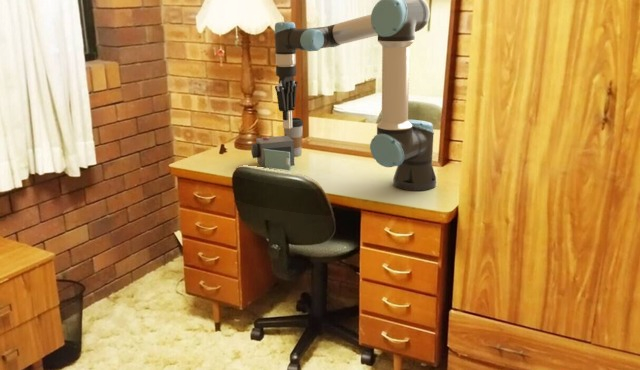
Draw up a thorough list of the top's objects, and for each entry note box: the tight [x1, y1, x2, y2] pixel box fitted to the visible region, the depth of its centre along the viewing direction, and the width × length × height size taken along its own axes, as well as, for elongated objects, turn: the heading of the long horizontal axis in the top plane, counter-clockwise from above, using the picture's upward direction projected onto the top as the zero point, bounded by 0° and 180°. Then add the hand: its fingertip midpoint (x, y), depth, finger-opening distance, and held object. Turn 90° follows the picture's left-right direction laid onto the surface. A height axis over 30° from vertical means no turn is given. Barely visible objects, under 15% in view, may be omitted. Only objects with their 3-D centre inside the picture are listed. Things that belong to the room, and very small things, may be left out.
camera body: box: [250, 135, 295, 169], centre depth 248 cm, size 9×16×11 cm, turn 108°
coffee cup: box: [283, 117, 304, 158], centre depth 261 cm, size 8×8×15 cm
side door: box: [262, 148, 292, 171], centre depth 240 cm, size 12×2×7 cm, turn 63°
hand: (287, 127), depth 238 cm, fingers closed
